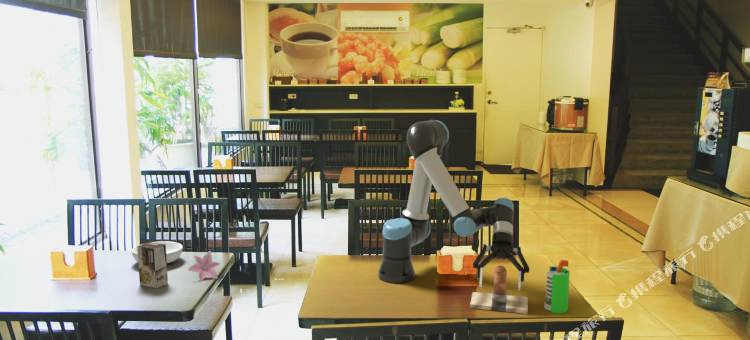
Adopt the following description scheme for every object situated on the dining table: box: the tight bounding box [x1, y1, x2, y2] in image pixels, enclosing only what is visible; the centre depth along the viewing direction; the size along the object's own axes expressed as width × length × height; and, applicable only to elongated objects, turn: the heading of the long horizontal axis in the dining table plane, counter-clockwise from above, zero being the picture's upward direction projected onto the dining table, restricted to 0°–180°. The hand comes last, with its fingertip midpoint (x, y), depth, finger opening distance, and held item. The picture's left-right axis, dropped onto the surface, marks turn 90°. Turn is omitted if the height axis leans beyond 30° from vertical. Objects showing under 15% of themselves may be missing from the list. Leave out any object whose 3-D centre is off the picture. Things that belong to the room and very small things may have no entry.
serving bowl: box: [131, 240, 184, 264], centre depth 252 cm, size 21×21×7 cm
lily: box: [187, 250, 221, 282], centre depth 235 cm, size 12×12×10 cm
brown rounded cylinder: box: [491, 265, 508, 303], centre depth 208 cm, size 5×5×13 cm
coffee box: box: [136, 241, 169, 289], centre depth 225 cm, size 9×6×16 cm
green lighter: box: [544, 259, 570, 314], centre depth 205 cm, size 9×8×18 cm
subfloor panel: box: [469, 291, 529, 315], centre depth 210 cm, size 20×12×2 cm, turn 77°
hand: (499, 287), depth 206 cm, fingers open, 13 cm apart
